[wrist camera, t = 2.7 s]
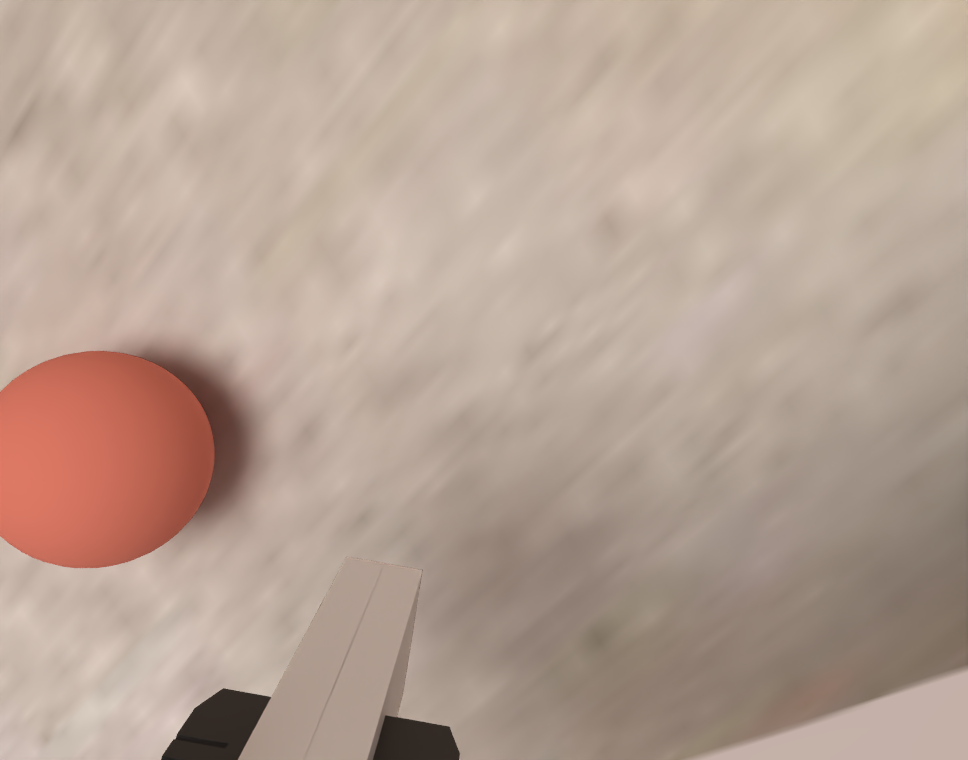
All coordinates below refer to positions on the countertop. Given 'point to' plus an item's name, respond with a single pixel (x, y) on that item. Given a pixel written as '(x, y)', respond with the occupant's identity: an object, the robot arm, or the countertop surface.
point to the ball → (100, 459)
